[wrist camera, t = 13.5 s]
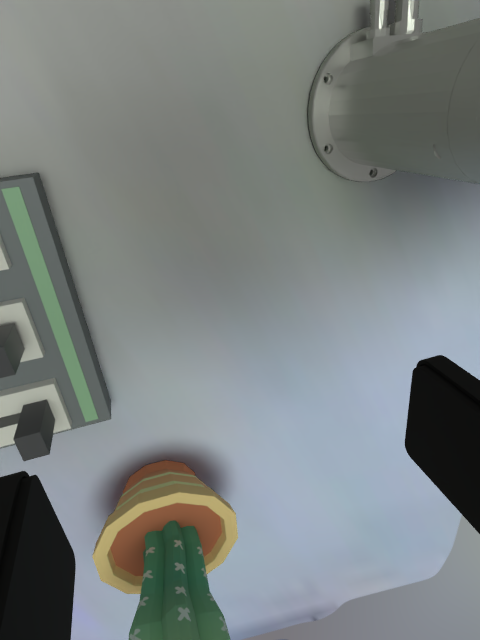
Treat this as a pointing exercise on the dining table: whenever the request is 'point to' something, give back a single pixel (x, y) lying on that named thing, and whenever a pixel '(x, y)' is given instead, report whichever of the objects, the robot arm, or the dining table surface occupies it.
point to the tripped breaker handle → (10, 350)
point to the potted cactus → (168, 552)
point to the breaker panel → (43, 328)
